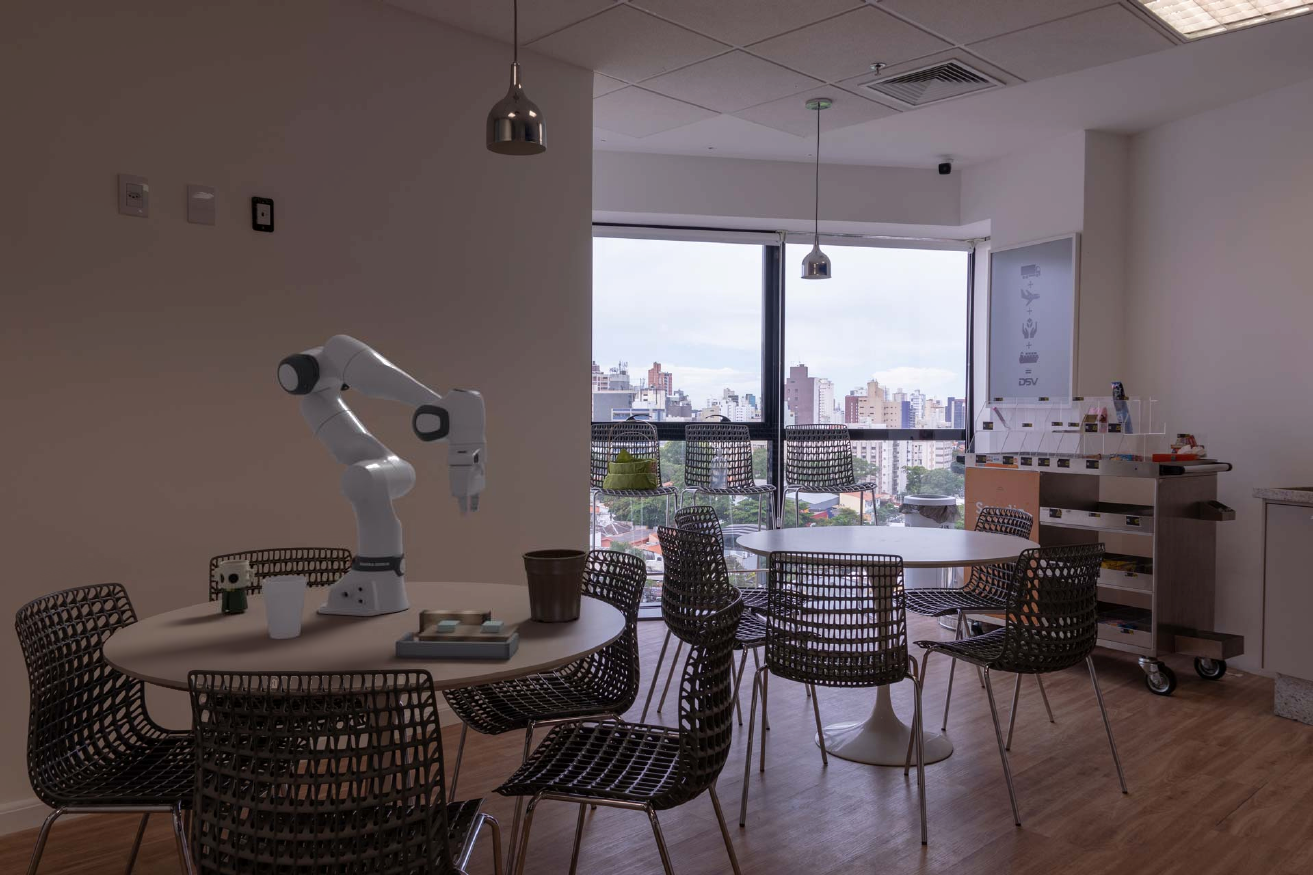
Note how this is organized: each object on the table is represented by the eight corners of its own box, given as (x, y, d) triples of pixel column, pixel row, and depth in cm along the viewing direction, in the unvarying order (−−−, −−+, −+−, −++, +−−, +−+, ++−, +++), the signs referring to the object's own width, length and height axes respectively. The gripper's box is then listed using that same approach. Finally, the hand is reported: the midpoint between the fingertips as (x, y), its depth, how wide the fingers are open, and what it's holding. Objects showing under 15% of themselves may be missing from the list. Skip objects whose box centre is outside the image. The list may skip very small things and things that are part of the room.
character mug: (206, 614, 234) (205, 563, 233) (223, 608, 241) (222, 559, 240) (246, 616, 232) (245, 564, 232) (262, 609, 239) (261, 560, 239)
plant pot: (515, 613, 234) (514, 550, 234) (575, 608, 240) (575, 546, 240) (532, 627, 219) (532, 560, 219) (596, 621, 226) (596, 555, 225)
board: (418, 647, 201) (418, 635, 201) (432, 635, 211) (432, 624, 211) (509, 648, 200) (509, 636, 200) (518, 636, 210) (518, 625, 210)
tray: (395, 657, 192) (395, 642, 192) (409, 646, 201) (409, 631, 201) (509, 659, 191) (509, 643, 191) (518, 648, 200) (518, 633, 200)
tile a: (437, 631, 205) (437, 624, 205) (442, 627, 209) (442, 620, 209) (455, 631, 205) (455, 624, 205) (459, 627, 209) (459, 620, 209)
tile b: (481, 631, 204) (481, 625, 204) (486, 627, 208) (486, 621, 208) (499, 632, 204) (499, 625, 204) (503, 627, 208) (503, 621, 208)
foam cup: (264, 642, 206) (263, 584, 205) (261, 633, 214) (260, 577, 214) (309, 637, 210) (308, 580, 210) (304, 628, 218) (303, 574, 218)
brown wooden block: (419, 632, 215) (419, 613, 215) (424, 628, 218) (423, 609, 218) (487, 633, 214) (487, 613, 214) (490, 629, 217) (490, 610, 217)
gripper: (465, 454, 232) (467, 509, 233) (444, 458, 212) (445, 518, 212) (490, 453, 232) (492, 508, 232) (471, 457, 212) (472, 517, 212)
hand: (469, 513), depth 222 cm, fingers open, 8 cm apart
